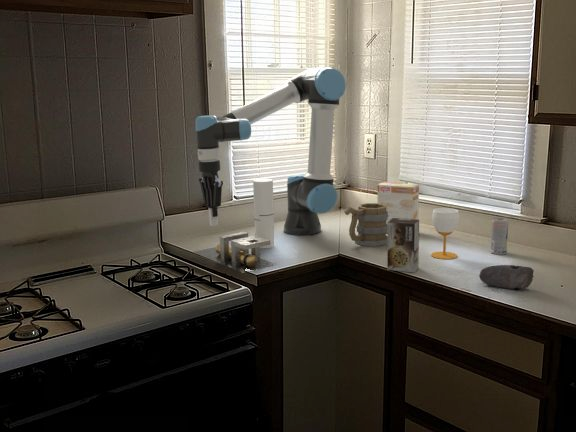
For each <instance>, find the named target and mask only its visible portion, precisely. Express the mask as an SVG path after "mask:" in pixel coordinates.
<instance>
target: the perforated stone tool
mask: <svg viewBox="0 0 576 432" xmlns="http://www.w3.org/2000/svg"><path fill="white" fill-rule="evenodd" d="M534 271H535V270H534V269H533V268H532V267H530V266H522V265H513V264H497V265H490V266H487V267H484V268H482V269H481V270H480V272H479V275H478V276H479V279H480V281H482V283H484V284H486V285H488V286H491V287H497V288H501V289H507V290H513V289H518V290H520V291H521V290H525V289H527V288H529V286H531V284H532V282H533V279H534Z"/></svg>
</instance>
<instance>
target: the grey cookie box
mask: <svg viewBox="0 0 576 432" xmlns="http://www.w3.org/2000/svg"><path fill="white" fill-rule="evenodd" d="M387 226H388V233H387V236H388V244H387V258H386V260H387V263H386V264H387V267H386V270H387V271H396V272H406V273H415V272H416V271H417V270H418V269H419V264H420V263H419V260H420V259H419V258H420V257H419V253H420V252H419V251H420V250H419V249H420V219H418V220H415V219H401V218H392V219H391V220H390V221H389V222H387Z"/></svg>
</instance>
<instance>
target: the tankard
mask: <svg viewBox="0 0 576 432" xmlns="http://www.w3.org/2000/svg"><path fill="white" fill-rule="evenodd" d="M357 207H358V208H357V209H355V208H352V207H350V206H349V207H347V208H346V209H345V210H344V213H345V215H346V216H349V215H350V214H351V221H350V225H349V230H348V231H349V233H348V235H349V237H350V239H351V241H352V242H354V243H355V244H357V245H359V246H363V247H381V246H387V245H388V235H387V234H388V233H387V230H388V226H387V224H386V220H387V219H388V211H386V205H384V204H378V203H377V202H372V203H371V202H367V203H361V204H359V205H358V206H357ZM356 233H357V234H356Z"/></svg>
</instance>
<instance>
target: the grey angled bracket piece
mask: <svg viewBox="0 0 576 432" xmlns="http://www.w3.org/2000/svg"><path fill="white" fill-rule="evenodd" d="M246 237H249V232H246V231H240V232H236V233H232V234H225V235H221V236H219V244H220V254H221V261H223V262H227V261H229V246H230V244H229V242H231V240H236V239H241V238H246ZM240 250H241V251H244V252H246V253H249V254H250V252H249V251H250V249H247V250H244V249H241V248H240Z"/></svg>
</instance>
